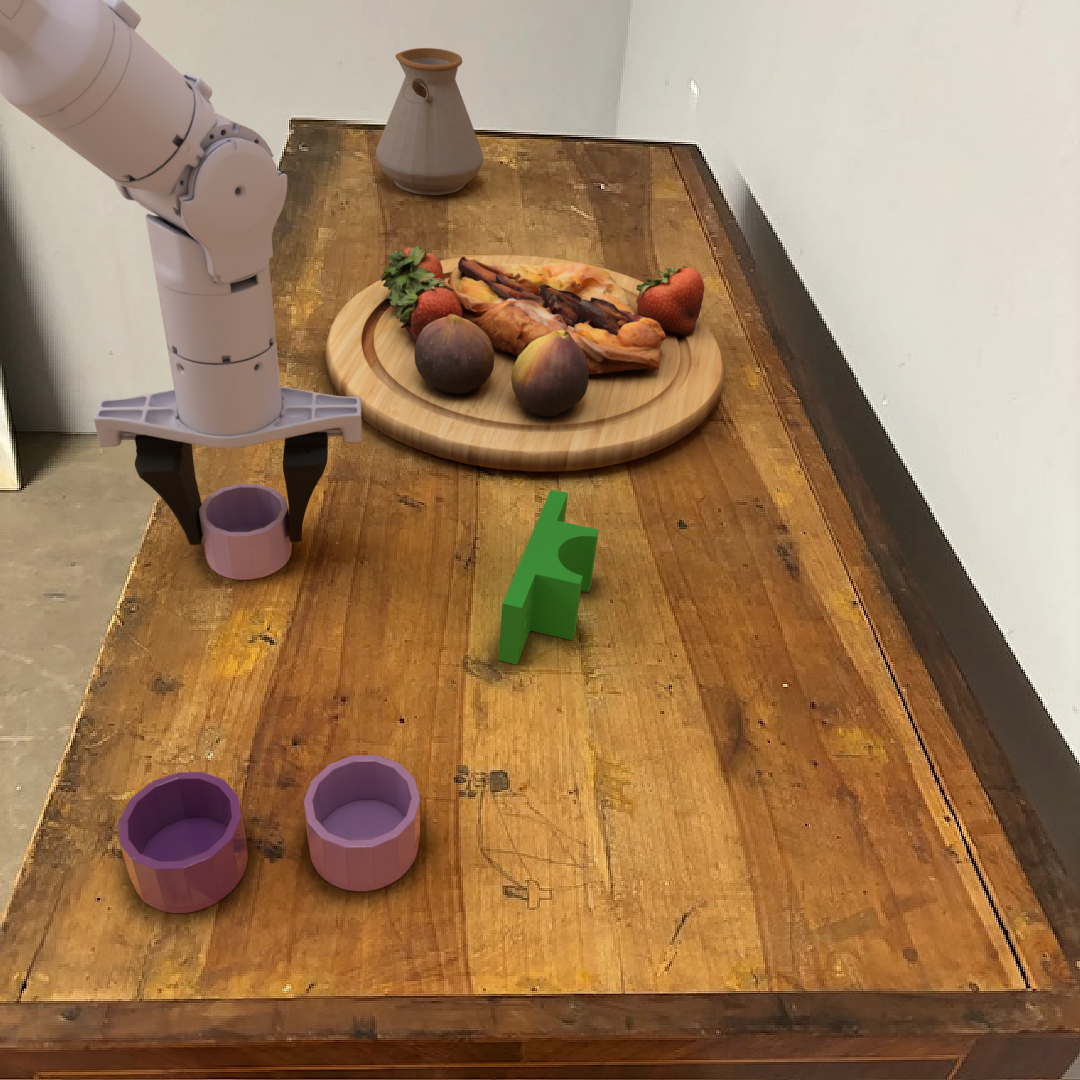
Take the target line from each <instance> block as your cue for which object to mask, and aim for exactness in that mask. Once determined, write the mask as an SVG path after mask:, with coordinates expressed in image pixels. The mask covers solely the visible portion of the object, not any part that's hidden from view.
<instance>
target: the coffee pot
mask: <svg viewBox="0 0 1080 1080" xmlns="http://www.w3.org/2000/svg"><path fill="white" fill-rule="evenodd" d="M395 59H396V60H397V62H398V63H399V65H400V67H401V69H402V71H403V73H404V76H405V77H404V79H403V81H402V84H401V87H400V89H399V92H398V94H397V96H396V99H395V102H394V105H393V106H392V108H391V109H392V110H391V111H390V114H389V116H388V119H387V122H386V124H385V126H384V129H383V132H382V133H381V137H380V139H379V142H378V143H377V147H376V149H375V159H376V161H377V164H378V165H379V168H380V169H381V171H382V173H384V174H385V175H386V177H387V178H389V179H390V180H392V181H393V183H394V184H395V186H396V187H398V188H399V189H401V190H404V191H406V192H408V193H413V194H416V195H423V196H441V195H442V196H443V195H448V194H455V193H456V192H459V191H461V190H462V189H463V188H464V187H465V186H466V184H468V183H469V182H471V181H472V180H473V179H474V178H475V177H477V175H478V173H479V172H480V171H481V168H482V166H483V163H484V159H485V158H484V153H483V151H482V148H481V144H480V142H479V139H478V137H477V134H476V131H475V128H474V126H473V123H472V121H471V118H470V115H469V113H468V109H467V107H466V104H465V102H464V99H463V97H462V94H461V91H460V88H459V86H458V83H457V80H456V77H457V74H458V69H459V67H460V66H461V65H462V64H463V58H462V56H461V55H460V54H458V53H456V52H454V51H450V50H447V49H442V48H435V47H434V48H433V47H417V48H410V49H405V50H403V51H400V52H398V53H396V54H395Z"/></svg>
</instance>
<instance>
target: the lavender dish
mask: <svg viewBox="0 0 1080 1080" xmlns="http://www.w3.org/2000/svg"><path fill="white" fill-rule="evenodd" d="M201 503H202V505H201V506H200V508H199V516H200V523H201V529H202V535H203V536H202V542H203V547H204V553H205V558H206V562H207V564H208V566H209V567H210V569H211V570H213V571H214V572H215V573H217V574H218V575H220V576H221V577H223V578H224V577H225V578H227V579H231V580H239V581H246V580H247V581H250V580H256V579H257V580H258V579H262V578H265V577H268V576H271V575H272V574H275V573H276V572H278V571H279V570H281V568H283V567H284V566H285V565H287V563H288V561H289V560H290V558H291V555H292V551H293V550H292V548H293V547H292V545H293V542H290V539H289V505H288V500H287V498H286V497H285V496H284V495H283V494H282V493H281V492H280V491H279V490H277V489H276V488H274V487H271V486H267V485H264V484H260V483H237V484H233V485H228V486H225V487H221V488H219V489H218V490H216V491H214V492H212V493H211V494H210V495H207V496H206V497H205V499H204V500H203V502H201Z"/></svg>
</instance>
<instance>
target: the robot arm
mask: <svg viewBox="0 0 1080 1080" xmlns="http://www.w3.org/2000/svg"><path fill="white" fill-rule="evenodd" d="M141 21H142V17H141V15H140V14H139V13H138V12H136V10H135V9H134V8H133V7H132V6H131V5H129V3H128V2H127V1H125V0H0V94H1V96H2V97H3V98H4V99H5V100H6V101H7V102H8V103H10V105H12V106H13V107H15V108H16V109H17V110H18V111H20V112H21V113H22V114H25V116H27V117H28V118H30V119H31V120H33V122H35V123H36V124H37V125H39V126H40V127H42V128H43V129H45V131H47V132H49V133H50V134H51V135H52V136H54V137H55V138H56V139H58V140H59V141H61V142H62V143H63V144H64V145H66V146H67V147H68V148H69V149H71V150H73V151H74V152H75V153H76V154H78V155H79V156H80V157H81V158H83V159H84V160H86V161H87V162H88V163H90V164H91V165H93V166H94V167H95V168H97V169H98V170H99V171H100V172H101V173H103V174H104V175H106V176H107V177H108V178H110V179H111V180H112V181H113V182H114V184H115V186H116V188H117V190H118V191H119V193H120V194H121V196H122V197H123V198H124V199H126V200H128V201H134V202H136V203H138V204H139V205H140V206H141V207H143V208H144V209H145V210H147V211H149V212H151V213H153V214H150V213H147V214H146V215H145V222H146V228H147V234H148V239H149V245H150V252H151V257H152V264H153V271H154V276H155V282H156V288H157V294H158V300H159V304H160V311H161V318H162V325H163V331H164V336H165V342H166V349H167V354H168V360H169V366H170V372H171V378H172V384H173V389H168V390H164V391H163V390H162V391H158V392H154V393H146V394H142V395H136V396H130V397H124V398H113V399H112V398H111V399H110V398H109V399H100V400H99V401H98V404H97V407H96V410H95V413H94V415H93V422H94V426H95V430H96V436H97V440H98V444H99V447H101V448H113V447H114V448H115V447H119V446H120V445H121V444H122V441H134V443H135V447H136V448H135V452H136V455H135V459H134V468H135V470H136V473H137V476H138V477H139V478H140V479H141V480H142V481H144V482H145V483H146V484H147V485H148V486H149V487H150V488H151V489H152V490H154V491H155V492H156V493H157V494H158V495H159V496H160V498H161V499H162V500H163V502H165V504H166V505H167V506H168V508H169V509H170V510H171V512H172V513H173V515H174V516H175V518H176V520H177V521H178V523H179V525H180V527H181V528H182V531H183V532H184V534H185V537H186V539H187V542H188V544H189V545H190V546H201V545H202V542H203V535H202V529H201V523H200V516H199V508H200V506H201V505H202V503H203V502H202V498H201V495H200V491H199V486H198V481H197V478H196V477H197V476H196V470H195V462H194V453H193V445H195V446H200V447H205V448H206V447H207V448H212V449H222V450H223V449H224V450H225V449H227V450H229V449H231V450H232V449H240V448H246V447H251V446H256V445H261V444H265V443H269V442H274V441H279V440H284V446H283V454H282V455H283V456H282V472H283V478H284V483H285V489H286V495H287V505H288V512H289V539H290V542H292V543H300V542H302V540H303V527H304V525H303V524H304V519H305V515H306V511H307V508H308V505H309V502H310V499H311V497H312V495H313V493H314V490H315V488H316V486H317V485H318V483H319V481H320V480H321V478H322V477H323V475H324V472H325V470H326V467H327V464H328V455H329V437H341V438H342V441H343V442H344V443H347V444H348V443H351V444H352V443H362V440H363V426H362V425H363V423H362V422H363V421H362V418H361V398H360V397H344V396H340V395H334V394H327V393H321V392H315V391H310V390H304V389H299V388H293V387H289V386H288V387H287V386H282V385H281V376H280V366H279V356H278V348H277V347H278V346H277V345H278V344H277V335H276V334H277V333H276V323H275V313H274V302H273V301H274V300H273V291H272V281H271V271H270V270H271V268H270V260H271V259H273V258H274V250H273V232H274V229H275V225H276V223H277V222H278V220H279V218H280V215H281V213H282V211H283V208H284V205H285V202H286V198H287V191H288V174H287V173H282V171H280V170H278V169H277V164H276V163H275V161H274V159H273V157H274V153H273V151H272V150H271V148H270V146H269V145H268V143H267V141H266V140H265V139H264V138H263V137H262V136H261V135H260V133H258V132H256V131H255V130H253V129H252V128H250V127H247V126H245V125H243V124H241V123H239V122H237V121H235V120H232V119H230V118H228V117H225V116H223V115H221V114H219V113H217V112H216V111H215V108H214V105H213V104H212V102H211V101H210V99H211V98H212V95H213V89H212V88H211V87H210V86H209V85H208V84H207V83H206V82H205V81H204V80H203V79H202V78H201V77H199V76H197V75H195V74H193V73H190V72H189V71H188V72H184V73H183V74H182V73H181V72H180V71H179V70H177V68H175V67H174V66H173V65H172V64H171V63H170V62H169V61H168V60H167V59H166V58H165V57H164V56H163V55H161V54H160V53H159V52H158V51H157V50H156V49H155V48H154V47H153V46H151V44H149V42H147V41H146V40H145V39H144V38H143V37H142V36H141V35H140V34H139V33H138V32H136V31H135V30H136V29H137V27H138V26H139V24H140V23H141Z"/></svg>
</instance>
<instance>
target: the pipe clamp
mask: <svg viewBox="0 0 1080 1080" xmlns="http://www.w3.org/2000/svg"><path fill="white" fill-rule="evenodd" d="M568 497H569V492H567V491H566V492H565V491H561V490H556V489H552V488H551V489H550V490H549V492H548V494H547V497H546V500H545V502H544V504H543V507H542V509H541V512H540V514H539V517H538V518H537V521H536V523H535V525H534V528H533V529H532V532H531V535H530V537H529V539H528V542H527V545H526V547H525V549H524V551H523V554H522V556H521V559H520V561H519V563H518V566H517V568H516V570H515V573H514V575H513V577H512V579H511V583H510V584H509V587H508V589H507V592H506V594H505V596H504V597H503V598H504V599H503V601H502V604H501V619H500V630H499V631H500V633H499V648H498V661H499V662H503V663H508V664H512V665H516V666H517V665H518V663H519V661H520V659H521V656H522V654H523V651H524V648H525V646H526V643H527V640H528V638H529V634H530V632H534V633H539V634H544V635H548V636H552V637H557V638H560V639H561V638H562V639H565V640H569V641H573V640H574V638H575V634H576V631H577V623H578V615H579V608H580V600H581V593H582V592H585V593H590V589H591V586H592V583H593V582H592V581H593V574H594V566H595V559H596V551H597V544H598V537H599V530H600V529H598V528H594V527H589V526H585V525H579V524H574V523H570V522H566V515H567V506H568Z"/></svg>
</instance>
